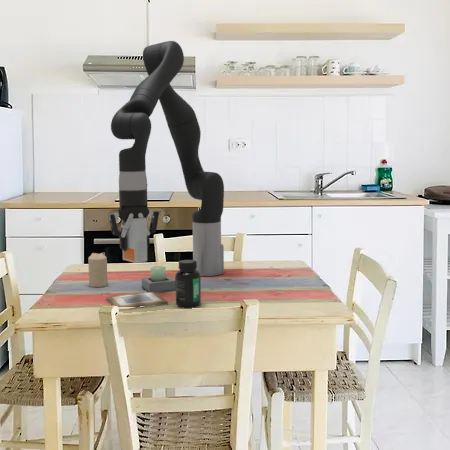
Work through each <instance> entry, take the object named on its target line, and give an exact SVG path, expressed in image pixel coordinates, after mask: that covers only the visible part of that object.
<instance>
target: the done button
mask: <svg viewBox="0 0 450 450" xmlns="http://www.w3.org/2000/svg"><path fill="white" fill-rule="evenodd" d="M166 275H167V270H166V266H162V265H160V266H159V265H156V266H152V267H150V277H151V281H152V282H158V281H166Z"/></svg>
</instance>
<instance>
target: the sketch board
mask: <svg viewBox="0 0 450 450" xmlns="http://www.w3.org/2000/svg"><path fill="white" fill-rule="evenodd" d="M105 298H106V299H105V300H106V301H107V302H108V303H109V304H110V303H111V304H110V305H111V306H112V305H115V306H118V307H140V306H149V307H154V306H153V305H157V306H164V305H168V304H169V302H168V300H166V299H165V298H163V297H162V296H161V295H160V294H159V293H156V292H147V291H146V292H145V291H144V292H137V293H130V294H129V293H128V294H119V295H112V296H106V297H105Z"/></svg>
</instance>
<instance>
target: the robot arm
mask: <svg viewBox="0 0 450 450" xmlns="http://www.w3.org/2000/svg"><path fill="white" fill-rule="evenodd" d="M142 60H143V65H144V67H145V71H146V74H147V75H148V76H147V77H145V78H144V79H142V81H141V82H140V83H139V84H137V86H136V87H135V90H134V91H133V92H132V95H131V97H130V99H129V100H128V101H127V102H126V103H125V104H123V105H122V107H121V108H119V109H118V110H117V111H116V112H115V114H114V115H113V117H112V119H111V122H110V131H111V133H112V135H113V136H114V137H115V138H116V139H118V140H134V142H133V144H132V145H131V147H128V148H123V149H121V150H120V151H119V154H118V172H119V174H118V197H119V199H118V200H119V203H118V204H119V207H118V210H117V212H114V213H113V212H112V213H111V212H110V213H108V214H107V216H108V217H107V218H108V221H109V225H110V229H111V233H112V235H114V236H116V237H118V238H119V248H120V249H121V250H122V252H123V251H127V246H126V237H125V235H126V233H127V230H128V229H129V226H130V220H131V219H133V218H147V217H148V216H149V219H150V224H149V227H148V226H147V250H148V248H149V247H150V246H151V245H150V244H151V243H150V242H151V240H150V238H151V237H150V236H151V235H152V234H153V233H156V232H157V229H158V222H159V218H160V217H159V216H160V212H159V211H158V210H155V209H154V210H150V209H149V207H148V179H147V178H148V177H147V172H146V167H147V166H146V154H147V148H148V144H149V141H150V140H149V139H150V137H151V136H150V135H151V131H152V121H151V119H150V117H151V115H152V114H153V112H154V110H155V108H156V106H157V104H158V101H159V103H160V106H161V110H162V112H163V115H164V117H165V120H166V124H167V127H168V130H169V133H170V137H171V139H172V140H173V144H174V146H175V149H176V150H175V151H176V152H177V156H178V159H179V161H180V166H181V170H182V174H183V177H184V178H183V179H184V183H185V187H186V190H187V192H188V194H189V196H190V197H191V198H193V199H194V200H199V201H201V204H200V208H199V209H198V210H196V211H194V212H193V213H192V216H191V217H192V220H191V221H192V260H195V261H197V268H196V270H197V271H199V273H200V275H201V277H211V276H212V277H214V276H219V275H221V274H225V268H224V267H225V265H224V264H225V263H224V262H225V257H224V255H225V254H224V252H225V251H224V250H225V248H224V244H222V215H223V213H224V200H225V199H224V198H225V185H224V180H223V178H222V176H221V175H220V174H219V173H217V172H214V171H205V170H204V169H203V166H202V164H201V161H200V156H199V149H200V143H201V135H202V133H201V127H200V124H199V120H198V117H197V115H196V112H195V110H194V108H193V107H192V106H191V105H190V104H189V103H188V102H187V101H186V100H185V99H184V98H183V97H182V96H180V94H178V92H176V91H175V90H174V88H173V86H172V84H170V83H171V82H172V81H173V80H174V78H175V77H176V76H177V75H178V73H179V72H180V71H181V70H182V68H183V66H184V62H185V55H184V51H183V48H182V47H181V45H180V44H179V43H178V42H177V41H175V40H168V41H163V42H159V43H155V44H151V45H147V46H145V47H144V48H143V51H142ZM118 218H120V219H121V224H120V229H119V228H118V223H117V221H119V219H118ZM122 220H123V221H124V223H125V225H124V223H123V222H122Z"/></svg>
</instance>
